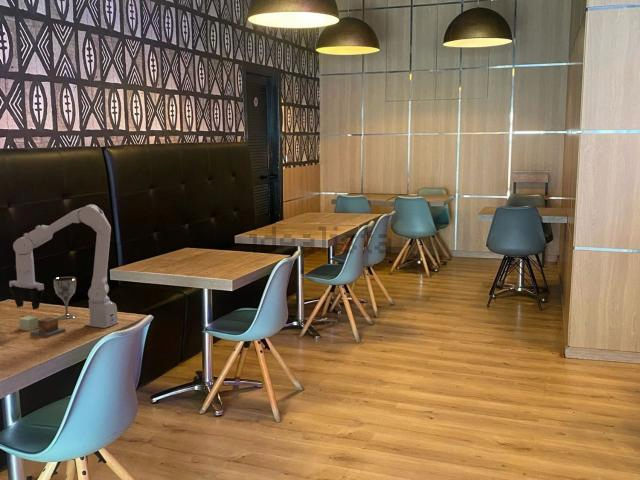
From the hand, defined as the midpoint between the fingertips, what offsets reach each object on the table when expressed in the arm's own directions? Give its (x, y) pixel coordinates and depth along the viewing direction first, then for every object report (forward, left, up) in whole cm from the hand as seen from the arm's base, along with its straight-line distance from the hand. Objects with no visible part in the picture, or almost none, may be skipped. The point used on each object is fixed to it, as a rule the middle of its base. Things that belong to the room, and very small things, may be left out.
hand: (27, 307), depth 226 cm
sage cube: (0, 0, -8) cm, 8 cm away
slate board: (-11, +2, -8) cm, 14 cm away
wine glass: (-1, -17, -8) cm, 19 cm away
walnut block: (-11, +2, -7) cm, 13 cm away
